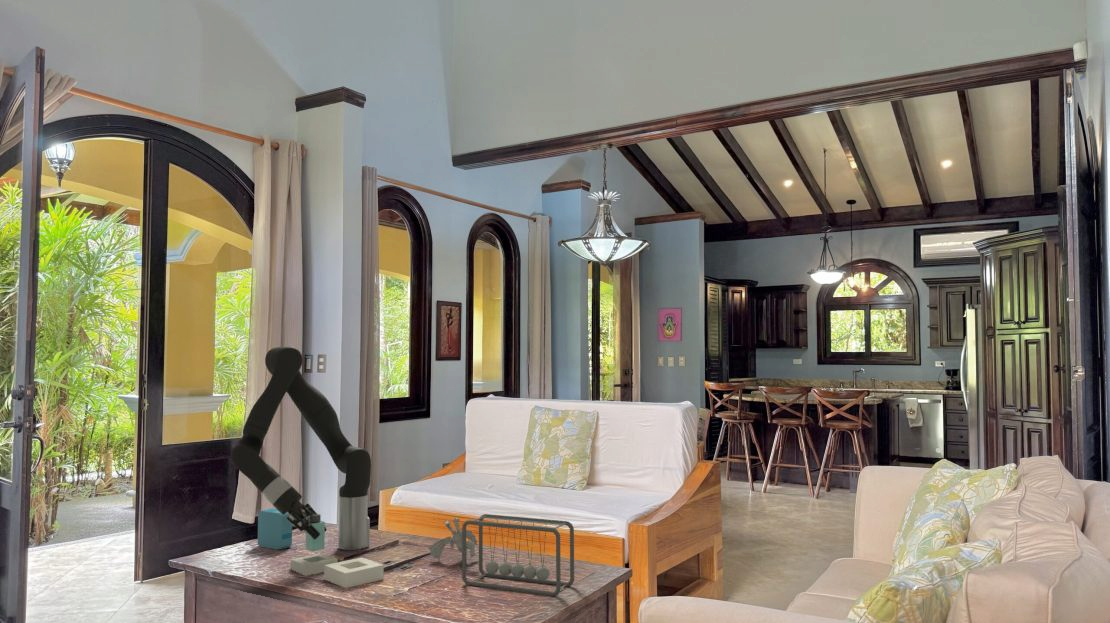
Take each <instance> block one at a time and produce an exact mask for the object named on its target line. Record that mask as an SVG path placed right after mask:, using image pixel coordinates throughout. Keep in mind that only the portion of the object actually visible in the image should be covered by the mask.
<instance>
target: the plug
mask: <svg viewBox="0 0 1110 623" xmlns="http://www.w3.org/2000/svg"><path fill="white" fill-rule="evenodd" d="M310 523H311V526H313V527H314V528H315V529H316V530H317V531H318V532H319V533H320V536H319V537H318V538H317V539H313V538H312V537H311V536H310V535H309V534H308V533H307V532H306V531H305V549H306V550H308V551H310V552H316V551H321V550H324V549H325V548H326V547H325V545H326V544H325V540H326V539H325V537H326V536H325V534H326V531H325V527H326V525H325V524H326V522H325V521H322V520H321V514H320V513H319V514H318V513H317V514H314V515H310Z"/></svg>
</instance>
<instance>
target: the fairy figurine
mask: <svg viewBox="0 0 1110 623" xmlns="http://www.w3.org/2000/svg"><path fill="white" fill-rule="evenodd" d="M452 522H453V524H454V527H455V529H454V528H453V527H452V523H451V522H450V520H449V519H448V520H445V522H444V526H445V527H447V529H448V530H449V532H451V534H452V536H445V537H444V538H441V539H439V540H437V541H435V542H434V543H432V544H431V545H430V546H429V547H428V550H429V555H432V557H433V558H432V559H433V560H434V559H437V561H441V556H442V554H443V552H444V549H445V547H446V546H447V544H448V543H449V545H450V548H451V550H452V551H453V550H454V546H455V545H454V544H456V548H457V550H458V551H459V552H460V553H461V554H462V528H461V526H460V524H459V523H460V518H459V517H457V518H453V519H452ZM466 539H468V540H466V559H467V558H468V557H467V556H468V550H470V551H469V555H470V559H473V557H475V556H477V554H479V551H475V547H479V544H478V543H479V540H477V539H476V535H475V534H474V533H473V531H472V530H470V529H466ZM477 542H478V543H477Z"/></svg>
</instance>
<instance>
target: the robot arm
mask: <svg viewBox="0 0 1110 623" xmlns="http://www.w3.org/2000/svg"><path fill="white" fill-rule="evenodd" d="M303 359H304V358H303V355H302V352H301V351H300V350H299V349H297V348H296V347H294V346H277V347H273V348H271V349H269V350H268V351H267V353H266V354H265V357H264V363H265V367H266V369H267V371H268V372H269V373H270V375H271V377H270V380H269V382H268V384H267V385H266V388H265V389H264V390H263V392H262V393H261V394H260V396H259V397H258V398H257V400H256V401H255V403H254V404H253V406H252V408H251V410H250V412H249V414H248V417H247V418H246V421H245V423H244V426H243V428H242V436H241V439H240V441H239V443H238V444H237V445H236V446H234V447H233V448H232V449H231V450H230V453H229V454H230V455H229V459H230V462H231V464H232V465H233V466H234V467H235V468H236V469H237V470H238V471H239V472H240V473H242V474H243V475H244V476H246V478H248V479H249V480H250V482H251V483H252V484H253V486H255V488H256V489H258V491H259V492H261V493H262V494H263V496H264V497H265V498H266V500H267V501H268V502H269V503H270V504H271V505H272V506H273V507H274V509H277V510H278V511H279V512H280V513H281V514H283V515H284V514H286V513H287V512H288V513H289V516H288V517H287V519H288V520H289V521H290V522H291V523H292V526H294V527H296V528H297V530H299V531H300V532H303V531H304V532H305V533H306V532H307V533H308V534H309V535H310V536H311V537H312V538H313V539H317V538H318V537H319V536H320V533H319V532H318V531H317V530H316V529H315V528H314V527H313V526H311V523H310V515H314V514H318V513H317V512H316V510H315V509H313V507H312V505H311V504H309V503H306V504H303V503H302V502H300V501H301V500H302V497H303V496H302V494H300V492H299V491H298V490H297V489H296V488H295V487H293V485H291V483H290V482H288V481H287V480H286V478H284V477H282V476H281V475H280V474H279V473H278V472H277V471H276V470H275V469H274V468H273V467H272V466H271V465H269V464H268V463H267V462H266V461H265V460H264V459H263V457H262V456H260V454H261V451H262V448H263V445H264V441H265V438H266V435H267V434H268V431H269V429H270V427H271V425H272V422H273V419H274V417H275V415H276V413H277V411H278V408H279V406H280V404H281V403H282V400H283V399H284V396H285V395H286V393H287V395H288V396H289V397H290V399H291V401H292V402H293V403H294V405H295V407H296V408H297V409H298V410H299V413H300V415H301V416H302V417H303V419H304V420H305V421H306V423H307V424H308V426H310V428H311V429H312V430H313V432H314V433H315V435H316V436H317V438H318V439H319V440H320V442H321V443H322V444H323V445H324V447H325V448H326V450H327V452H328V453H329V456H330V458H331V459H332V461H333V463H334V464H335V466H336V468H337V469H338V470H339V471H340V472H341V473H343V474H345V481H344V484H343V485H342V486H340V487H339V490H338V491H339V492H338V494H339V497H338V498H339V500H338V549H339V550H341V549H342V551H357V549H358V550H362V548H363V549H366V548H367V547H370V540H371V538H370V537H371V536H370V532H371V531H370V529H371V528H370V526H371V524H370V521H371V519H370V517H369V516H368V495H369V494H368V492H369V487H370V485H371V474H372V458H371V455H370V452H368V450H367V449H365V448H362V447H356V446H353V445H352V444H351V442H350V441H349V440H348V439H347V438H346V436H345V434H343V431H342V430H341V425H340V422H339V417H338V414H337V412H336V410H335V409H334V407H333V405H332V404H331V402H330V401H329V400H328V398H327V397H326V396H325V395H324V394H323V393H322V392H321V391H320V390H319V389H318V388H316V387H315V386H314V385H313V384H311V382H309V381H308V380H307V379H306V378H305V377H304V375H303V373H301V371H300V370H301V368H302V365H303V361H304V360H303ZM327 530H328V528H327V527H326V526H325V532H326V531H327Z"/></svg>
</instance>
